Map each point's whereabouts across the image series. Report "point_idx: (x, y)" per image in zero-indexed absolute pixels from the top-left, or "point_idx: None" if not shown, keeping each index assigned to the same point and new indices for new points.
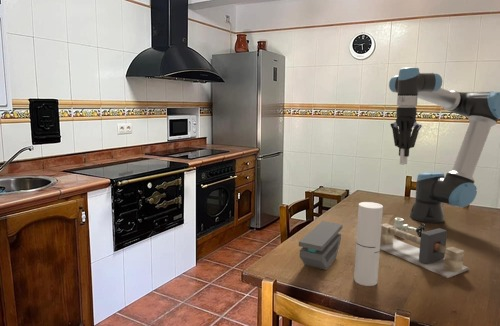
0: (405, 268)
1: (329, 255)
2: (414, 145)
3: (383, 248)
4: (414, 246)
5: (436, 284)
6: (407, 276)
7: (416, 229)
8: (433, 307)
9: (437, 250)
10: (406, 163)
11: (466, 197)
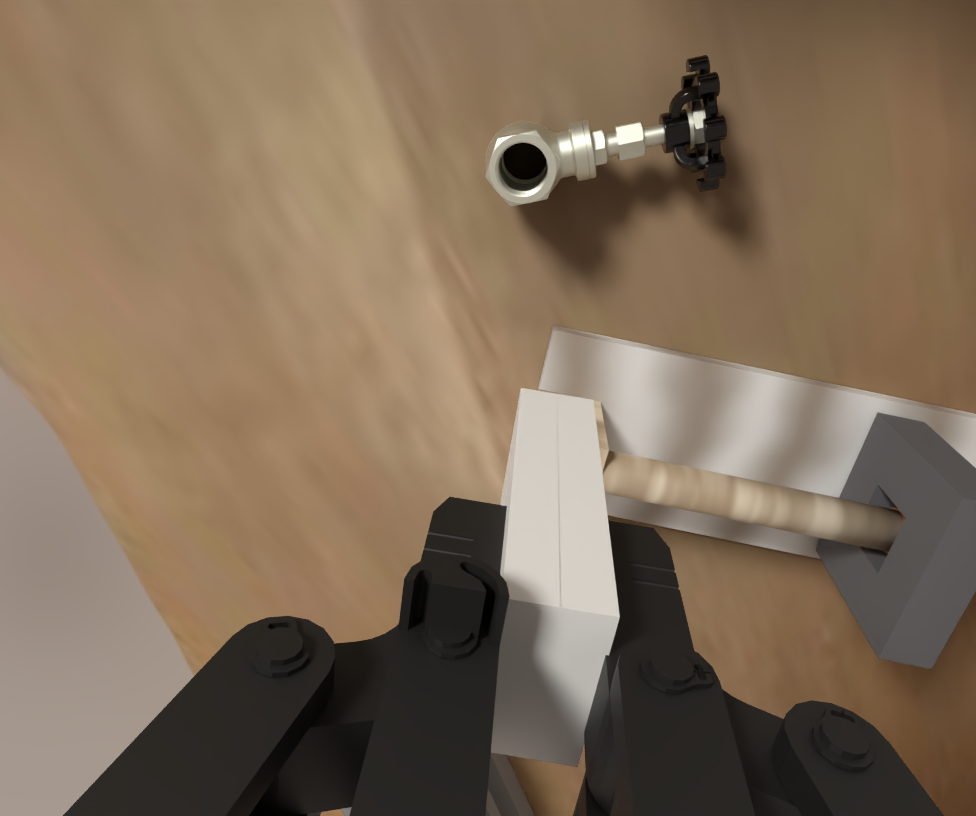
0: (772, 615)
1: (497, 795)
2: (913, 777)
3: None
4: (728, 367)
5: None
6: (806, 674)
7: (668, 152)
8: (950, 804)
9: None
10: (592, 416)
11: None
